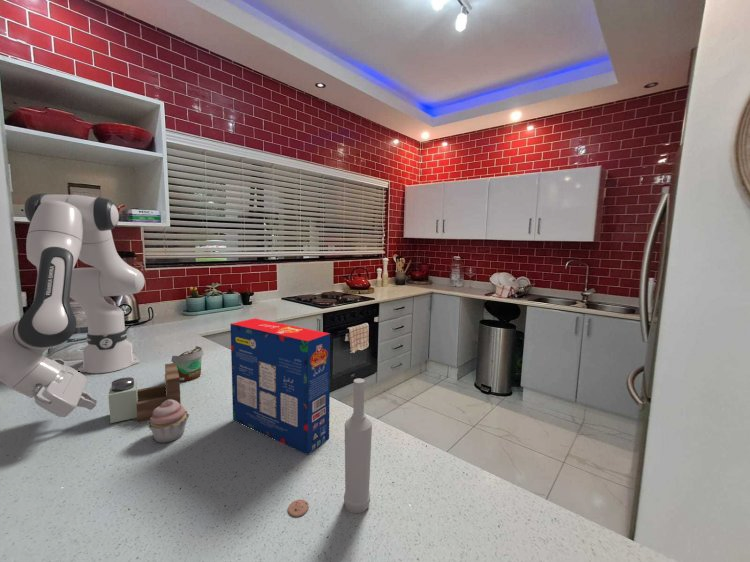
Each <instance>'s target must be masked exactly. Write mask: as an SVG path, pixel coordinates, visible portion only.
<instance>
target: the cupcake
mask: <svg viewBox="0 0 750 562" xmlns="http://www.w3.org/2000/svg"><path fill="white" fill-rule="evenodd" d="M189 417H190V413H188V410H186V409H185V407H184V406H183V404H179V403H178V402H177V401H175V400H170V399H168V400H166V401H165V402H163V403H162V404H161V406H159V407H157V408H156V409H154V411H153V416H152V417H151V418H150V419H149V421H147V423H146V424H147V425H148V426H147V427H148V429H149V430H150V432H152V436H153V439H154V440H155V441H156V442H157V443H160V444H162V443H163V444H165V443H170V442H174V441H176V440H178V439H179V438H181V437H182V436H183V435H184V433H185V429H186V424H187V421H188V419H189Z"/></svg>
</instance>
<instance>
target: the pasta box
mask: <svg viewBox="0 0 750 562" xmlns="http://www.w3.org/2000/svg"><path fill="white" fill-rule="evenodd" d="M230 352H231V353H230V355H231V389H232V391H231V392H232V393H231V395H232V421H233V420H234V421H233V422H235V421H237V422H239V423H241V424H243V425H245V426H244V427H246V426H247V427H246V428H248V427H249V428H248V429H250V428H252V429H254V430H255V431H254V430H253V431H254V432H256V431H258V432H257V433H259V432H260V433H259V434H261V433H262V434H261V435H263V434H264V435H263V436H265V435H267V436H268V437H267V436H266V437H267V438H269V437H270V439H272V438H273V439H272V440H274V439H275V440H274V441H276V442H278V441H279V442H278V443H280V442H281V444H283V445H285V446H286V447H289V448H291V449H293V448H294V449H293V450H295V451H298V452H300V453H302V454H305V455H306V454H307V456H309V455H310V454H311V453H313V452H314V451H315V450H317V449H318V448H319V447H321V446H322V445H323V444H324V443H326V442H327V441H328V440H329V439H330V405H331V404H330V402H331V401H330V398H331V397H330V392H331V391H330V386H331V385H330V384H331V383H330V382H331V381H330V380H331V378H330V377H331V376H330V375H331V372H330V371H331V333H330V332H329V333H328V332H323V331H320V330H319V331H318V330H314V329H309V328H305V327H299V326H294V325H290V324H285V323H279V322H274V321H269V320H264V319H260V318H254V317H253V318H251V319H246V320H241V321H237V322H232V323H230ZM237 422H236V423H237ZM239 423H238V424H239ZM241 424H240V425H241ZM243 425H242V426H243ZM252 429H251V430H252Z"/></svg>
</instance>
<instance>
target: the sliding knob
mask: <svg viewBox="0 0 750 562" xmlns="http://www.w3.org/2000/svg"><path fill="white" fill-rule="evenodd" d="M137 382H138V381H137V380H135V378H133V377H129V376H128V377H122V378H117V379H115V380H113V381H112V382H111V383H110V384H111V385H110V387H109V390H108V391H109V392H108V395H107V396H108V407H109V408H108V409H109V420H110V424H113V423H114V424H115V423H117V422H118V423H119V422H123V421H127V420H131V419H132V420H133V419H134V418H136V417H137V402H138V393H137V390H138V383H137Z"/></svg>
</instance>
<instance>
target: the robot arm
mask: <svg viewBox="0 0 750 562" xmlns="http://www.w3.org/2000/svg"><path fill="white" fill-rule="evenodd" d="M24 215H25V217H26V219H27V221H28V222H29V223H30V224H29V227H28V231H27V235H26V241H25V242H26V243H25V246H26V247H25V250H26V259H27V260H28V262H30V263H31V264H32V265H33V266H35V268H36V270H37V276H36V283H35V289H34V290H35V291H34V296H33V301H32V304H31V305H30V307H29V308H28V309H27V310H25V312H24V314H23V315H22V316H21V317H20V318H19V319H17V320H14V321H12V322H9V323H6V324H2V325H0V382H1V383H3V384H4V385H6V386H7V387H8V388H9V389H11V390H14V391H15V392H17V393H20V394H22V395H24V396H26V397H28V398H29V399H32V398H33V399H34V402H35V404H36V405H37V406H39V407H40V408H41V409H44V410H45V411H48V412H49V413H51V414H53V415H55V416H57V417H58V418H59V417H60V418H66V417H67V416H69V415H70V414H71V412H73V411H74V410H75V409H77V407H80V408H86V409H88V410H89V411H91V410H93V409H94V408H95V407H97V403H98V399H96V398H94V397H92V396H91V394H90V393H88V391H86V390H85V387H86V384H87V383H88V378H87V376H85V374H83V373H88V374H105V373H112V372H116V371H120V370H123V369H126V368H128V367H130V366H133V365H136V364H138V363H140V360H139V358H138V357H137V355H136V354H135V353H134V351H133V345H132V343H131V342H130V341H128V332H127V329H126V327H125V312H124V311H123V309H122V307H119V306H117V305H114V304H111V303H109V302H108V301H106V299H105V298H104V297H121V296H122V297H123V296H129V295H135V294H139V293H140V292H141V291H142V290H143V288H144V287H145V283H146V280H145V277H144V274H143V273H142V272H141V270H139V269H138V268H135V267H133V266H131V265H130V264H128V263H127V262H126V261H124V259H122V258H121V256H120V255H119V253H118V252H117V249H116V245H115V241H114V238H113V233H112V230H113V229H115V228H116V227H117V225H118V222H119V219H120V214H119V210H118V206H117V205H116V204H115V202H113V200H111V199H108V198H105V197H100V196H98V197H94V196H90V195H88V196H87V195H82V194H73V193H72V194H59V193H57V194H55V193H54V194H49V193H35V194H32V195H30V196H29V197H28V198H26V200H25V203H24ZM78 260H79V261H80V262H81V263H83V264H86V265H88V266H92V267H78V268H75V266H76V264H77V262H78ZM70 298H71V299H72V300H73V301H75V303H77V304H78V305H79V306H80V307H81V309H82V310H83V311H84V314H85V319H86V323H87V331H88V333H87V335H86V343H87V346H85V347H84V348H83V349H82V365H80V367H79V366H78V368H77V369H75V368H74V367H71V366H69V365H67V364H66V361H64V360H63V359H61V358H54V359H52V358H51V359H50V358H48V357H46V356H44V355H43V354H44V352H45V351H47V350H49V349H51V348H53V347H56V346H59V345H62V344H63V343H65V342H66V341H68V340H69V339H70V338H72V336H73V335H74V334H75V332H76V328H77V320H76V319H77V318H76V316H75V313H74V312H73V310H72V307H71V303H70V302H71V301H70ZM78 371H80V372H78Z"/></svg>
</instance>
